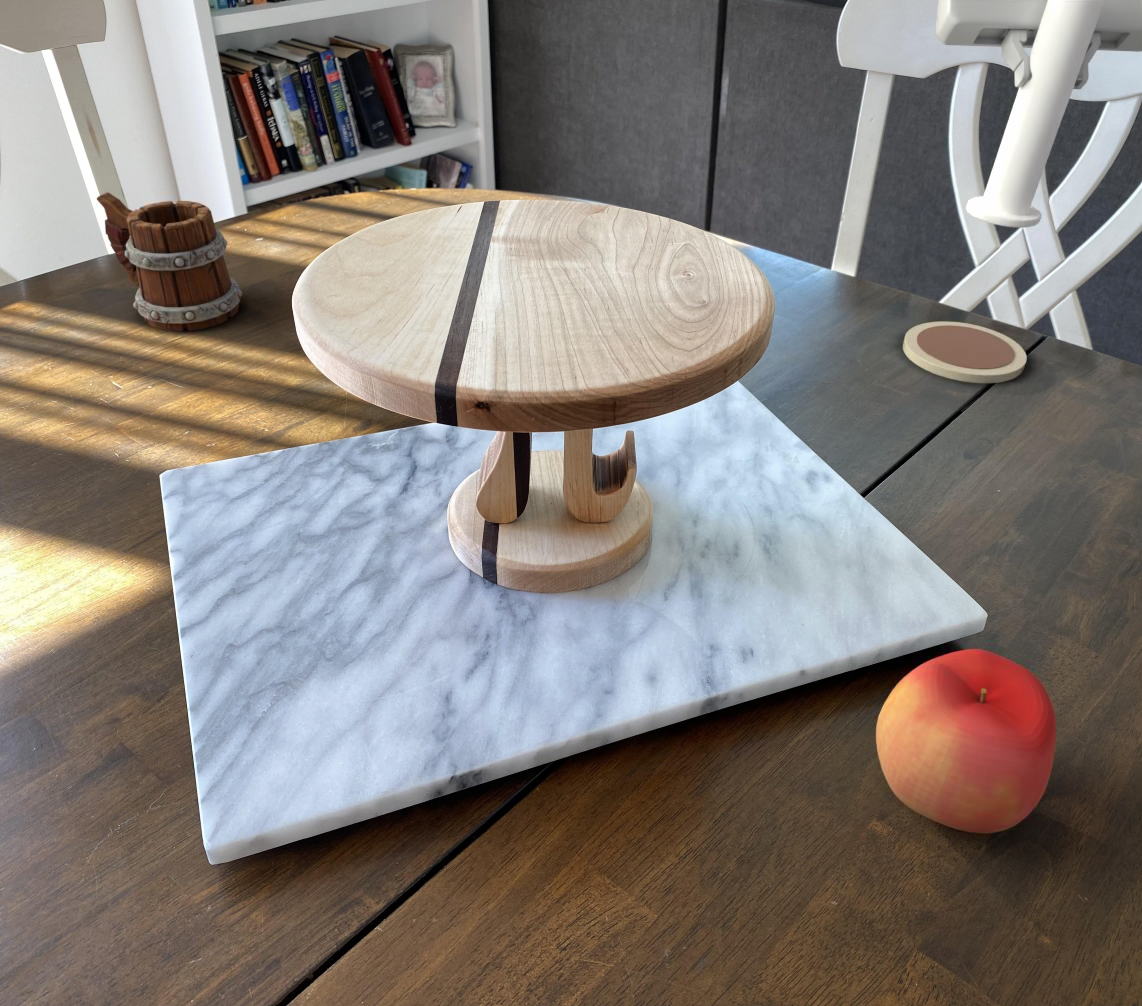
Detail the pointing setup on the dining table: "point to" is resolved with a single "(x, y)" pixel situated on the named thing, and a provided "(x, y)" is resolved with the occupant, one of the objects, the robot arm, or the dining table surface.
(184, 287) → the mug
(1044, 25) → the candle
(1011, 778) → the apple
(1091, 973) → the dining table surface
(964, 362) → the coaster
